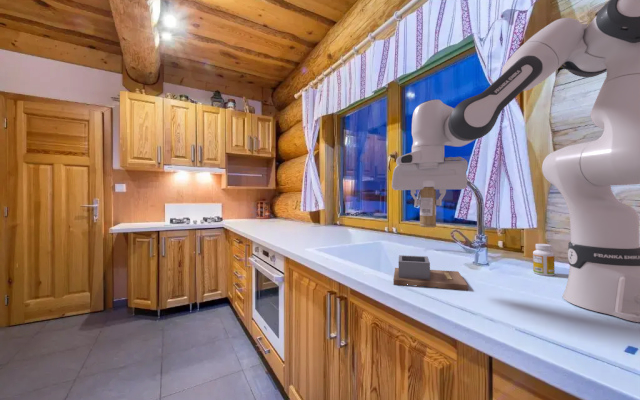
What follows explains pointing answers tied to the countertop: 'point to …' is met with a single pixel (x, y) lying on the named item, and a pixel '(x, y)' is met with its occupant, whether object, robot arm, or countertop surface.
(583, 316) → the countertop surface
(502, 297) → the countertop surface
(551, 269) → the supplement bottle
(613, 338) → the countertop surface
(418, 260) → the grey square open box
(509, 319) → the countertop surface
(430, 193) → the sprinkles bottle
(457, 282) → the wooden board
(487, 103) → the robot arm
